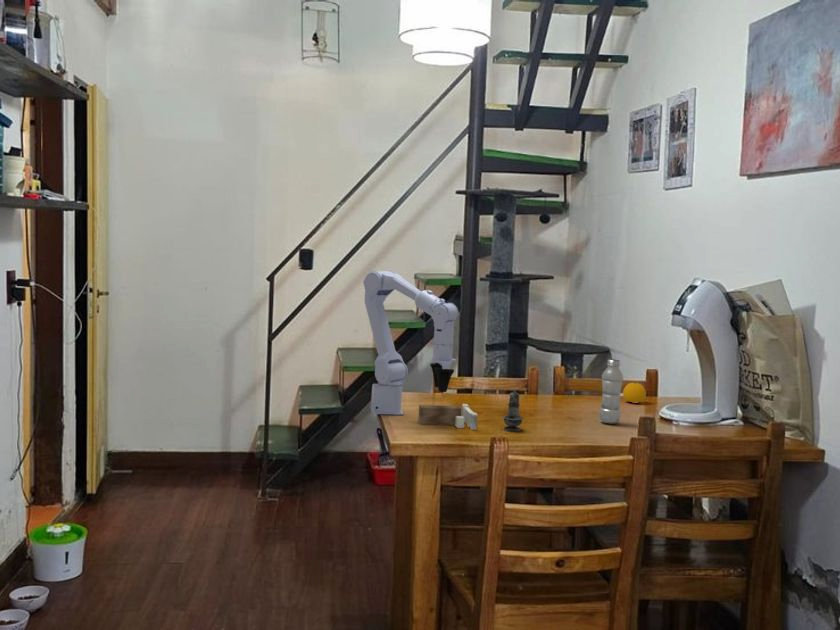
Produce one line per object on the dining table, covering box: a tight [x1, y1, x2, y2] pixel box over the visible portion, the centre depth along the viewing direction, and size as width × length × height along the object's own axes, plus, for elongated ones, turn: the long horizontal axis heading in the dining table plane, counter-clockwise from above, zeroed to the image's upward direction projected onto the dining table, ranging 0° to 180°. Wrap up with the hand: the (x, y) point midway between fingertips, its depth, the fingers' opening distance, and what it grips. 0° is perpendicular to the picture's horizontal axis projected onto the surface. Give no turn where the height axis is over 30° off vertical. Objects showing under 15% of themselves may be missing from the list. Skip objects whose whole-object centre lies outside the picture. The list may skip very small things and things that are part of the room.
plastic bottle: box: [598, 358, 624, 425], centre depth 252 cm, size 6×7×20 cm
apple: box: [622, 382, 647, 403], centre depth 291 cm, size 8×8×8 cm
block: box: [417, 404, 462, 426], centre depth 240 cm, size 12×4×5 cm, turn 98°
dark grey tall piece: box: [502, 388, 524, 433], centre depth 237 cm, size 6×6×12 cm
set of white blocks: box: [454, 403, 478, 431], centre depth 241 cm, size 6×15×4 cm, turn 8°
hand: (440, 389), depth 241 cm, fingers open, 7 cm apart
